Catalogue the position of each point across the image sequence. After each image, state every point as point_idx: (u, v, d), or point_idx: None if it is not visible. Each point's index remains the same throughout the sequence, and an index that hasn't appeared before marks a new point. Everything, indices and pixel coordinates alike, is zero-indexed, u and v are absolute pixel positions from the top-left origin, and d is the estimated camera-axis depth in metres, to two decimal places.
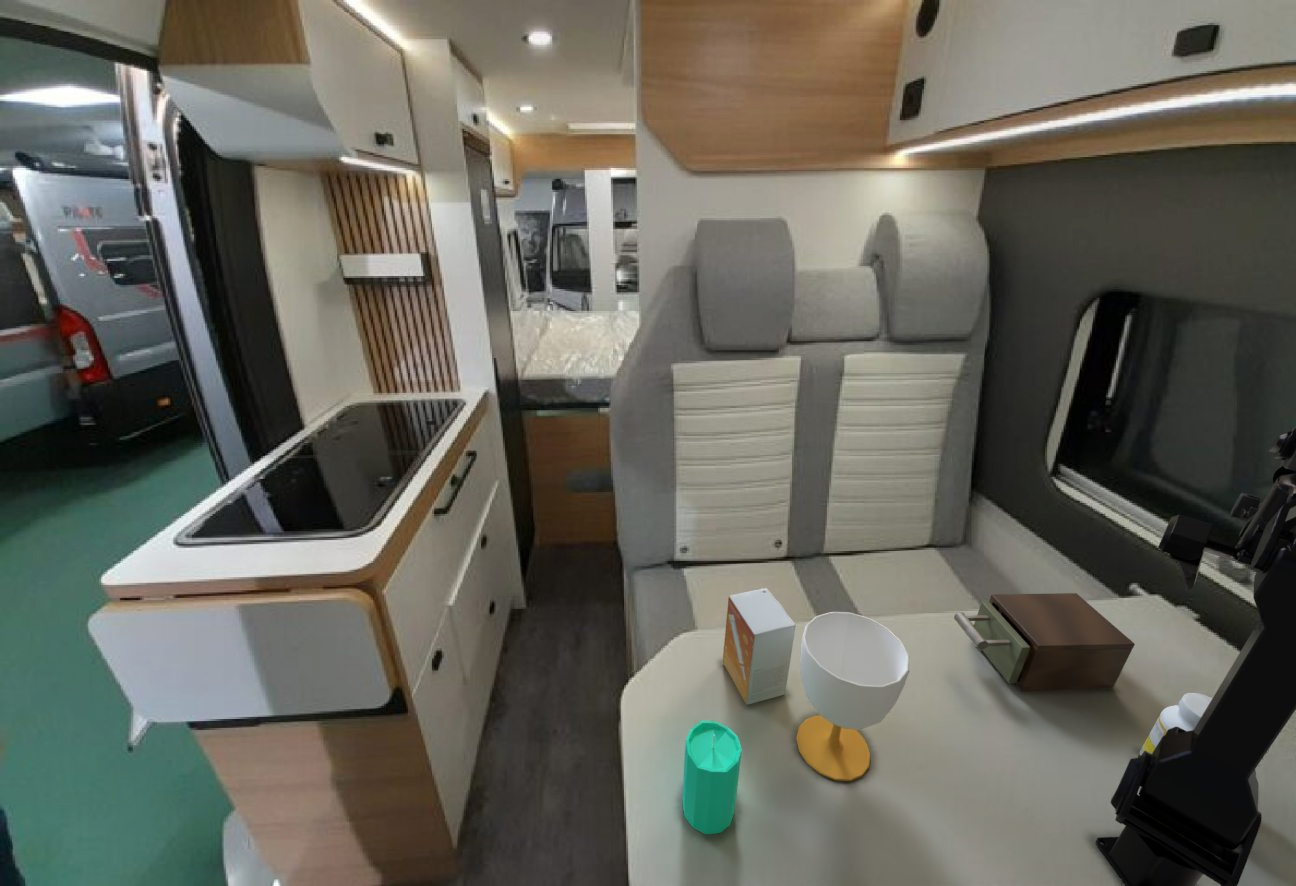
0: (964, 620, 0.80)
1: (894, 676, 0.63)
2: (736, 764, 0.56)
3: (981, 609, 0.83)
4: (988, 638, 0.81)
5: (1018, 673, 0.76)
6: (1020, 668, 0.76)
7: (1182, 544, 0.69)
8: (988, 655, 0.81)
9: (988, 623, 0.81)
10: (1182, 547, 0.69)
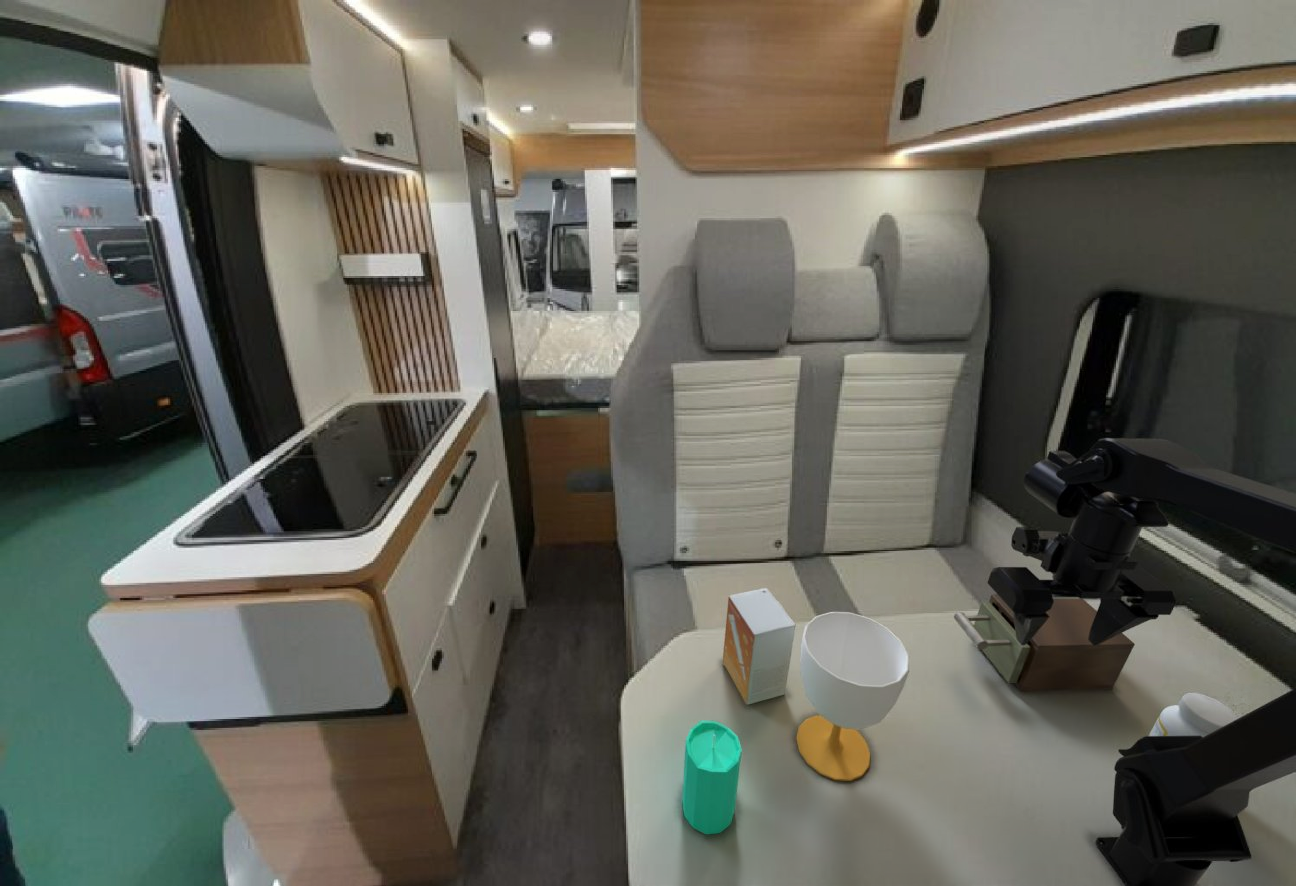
0: (964, 620, 0.80)
1: (894, 676, 0.63)
2: (736, 764, 0.56)
3: (981, 609, 0.83)
4: (988, 638, 0.81)
5: (1018, 673, 0.76)
6: (1020, 668, 0.76)
7: (1036, 599, 0.61)
8: (988, 655, 0.81)
9: (988, 623, 0.81)
10: (1037, 602, 0.61)
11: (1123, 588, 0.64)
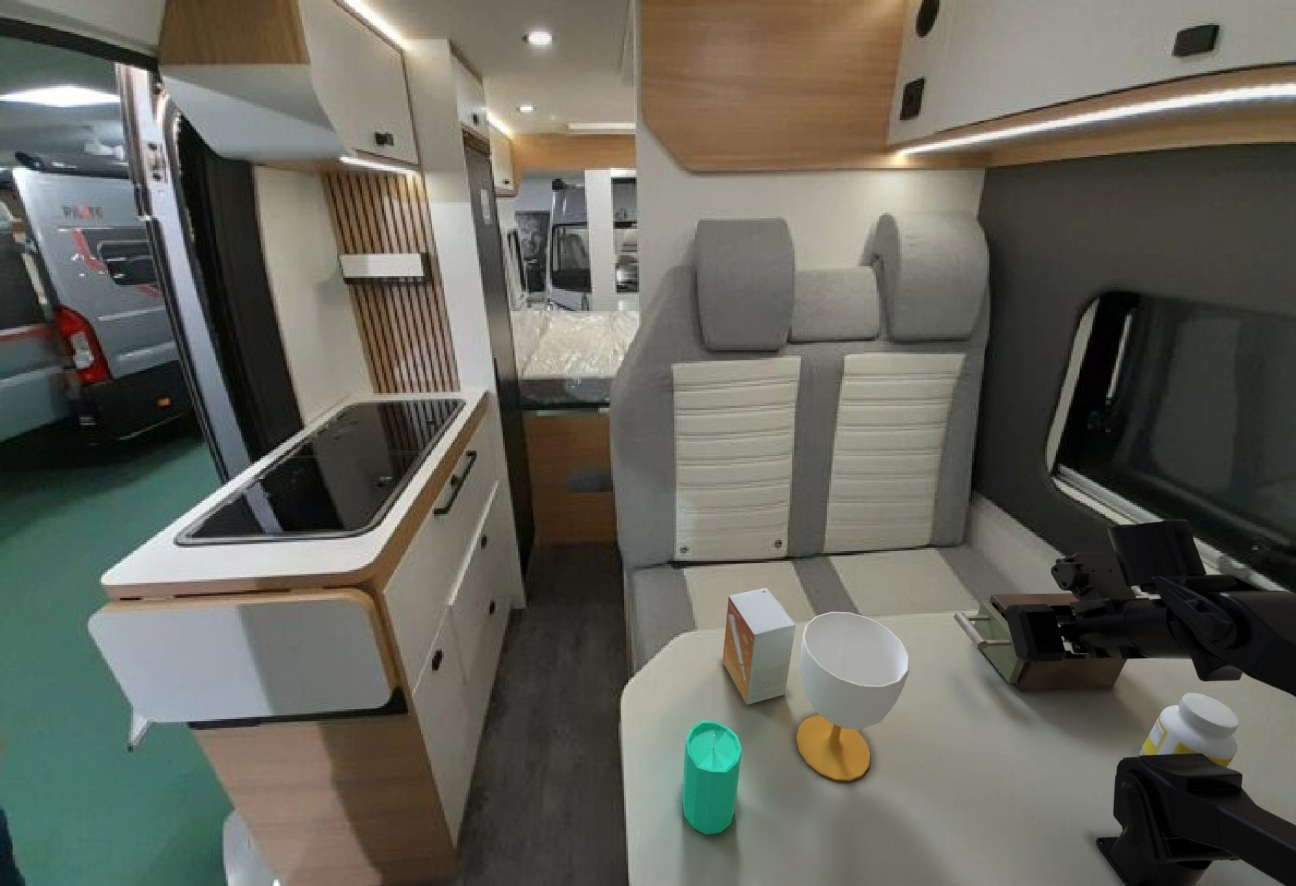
0: (964, 620, 0.80)
1: (894, 676, 0.63)
2: (736, 764, 0.56)
3: (981, 609, 0.83)
4: (988, 638, 0.81)
5: (1018, 673, 0.76)
6: (1020, 668, 0.76)
7: (1046, 659, 0.59)
8: (988, 655, 0.81)
9: (988, 623, 0.81)
10: None
11: None
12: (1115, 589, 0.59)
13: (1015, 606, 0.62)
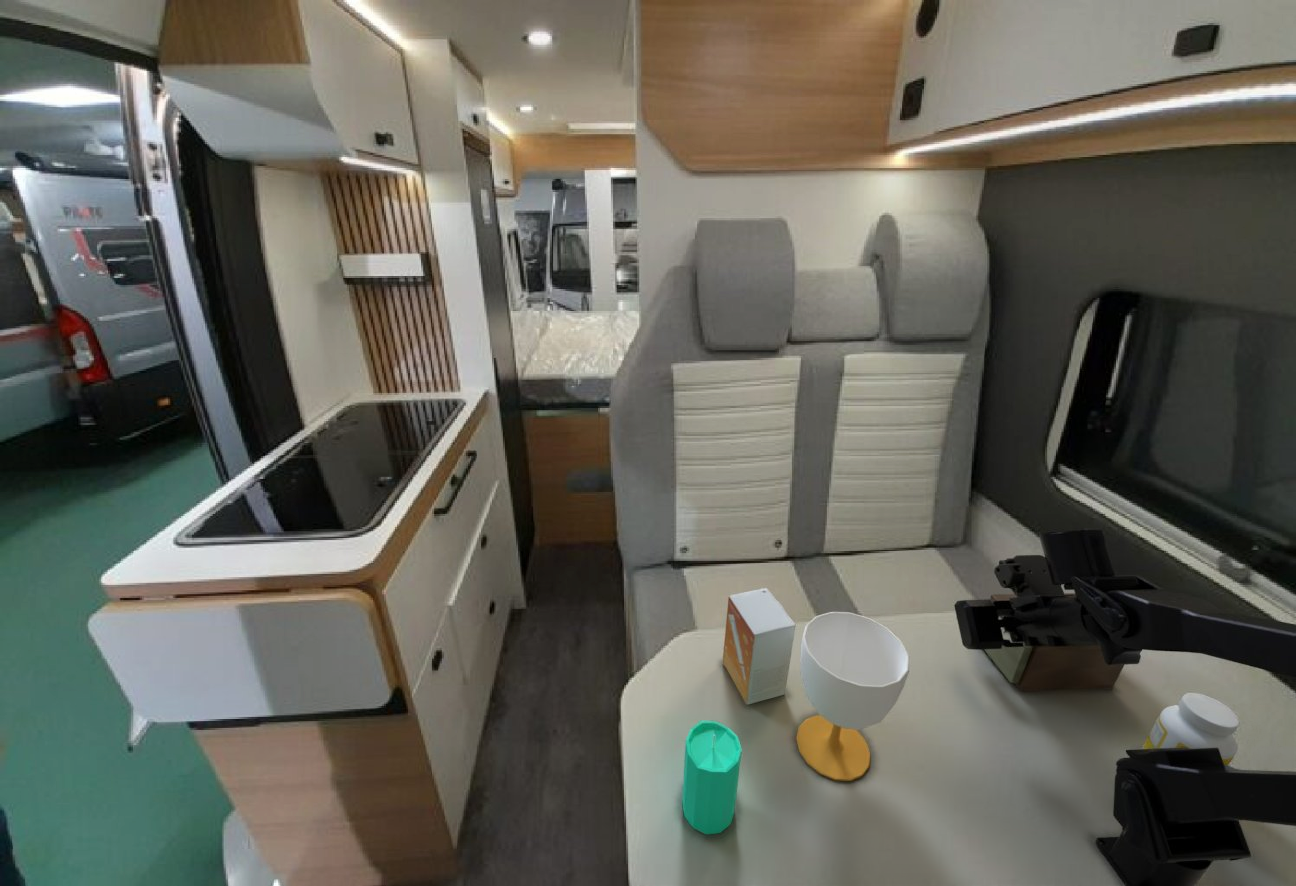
0: None
1: (894, 676, 0.63)
2: (736, 764, 0.56)
3: None
4: None
5: (1021, 673, 0.76)
6: (1023, 668, 0.76)
7: (987, 647, 0.69)
8: (990, 655, 0.81)
9: None
10: (986, 648, 0.69)
11: None
12: (1047, 587, 0.69)
13: (962, 601, 0.71)
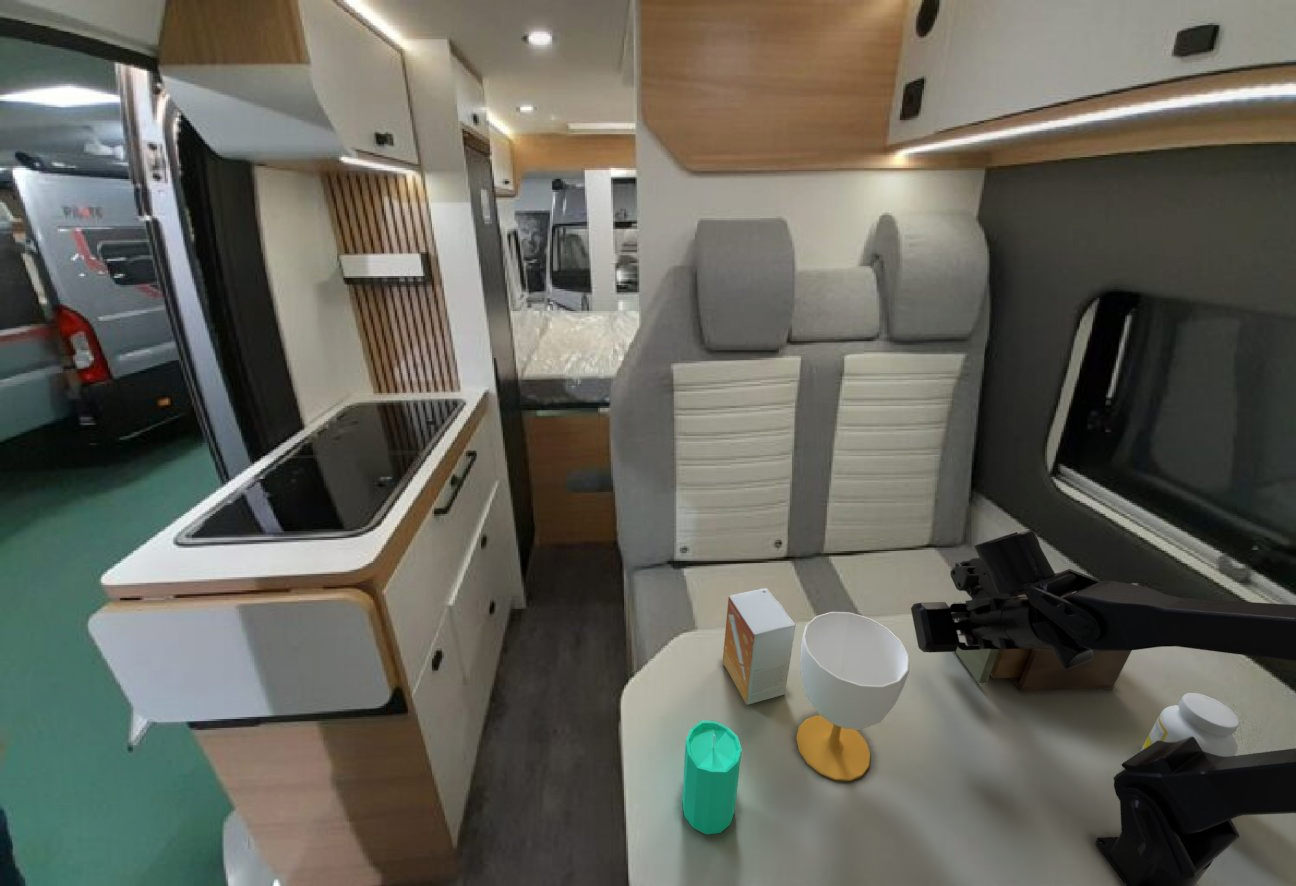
0: None
1: (894, 676, 0.63)
2: (736, 764, 0.56)
3: None
4: None
5: (988, 674, 0.76)
6: (990, 669, 0.76)
7: (941, 650, 0.69)
8: (960, 656, 0.81)
9: None
10: (941, 651, 0.69)
11: None
12: None
13: (918, 604, 0.71)
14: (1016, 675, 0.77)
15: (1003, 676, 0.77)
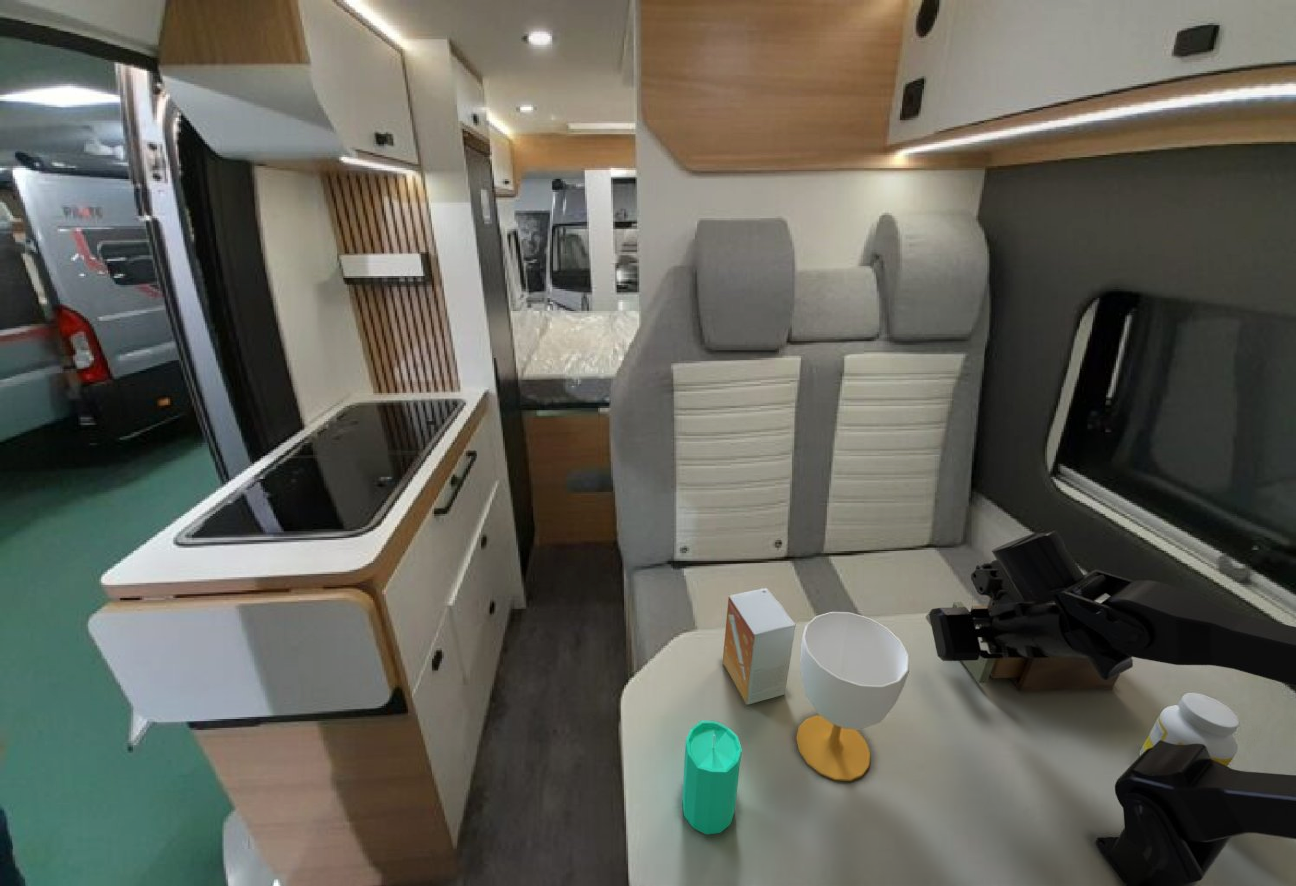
0: None
1: (894, 676, 0.63)
2: (736, 764, 0.56)
3: None
4: None
5: (988, 674, 0.76)
6: (990, 669, 0.76)
7: (962, 658, 0.65)
8: None
9: None
10: None
11: None
12: None
13: (937, 609, 0.67)
14: (1016, 675, 0.77)
15: (1003, 676, 0.77)
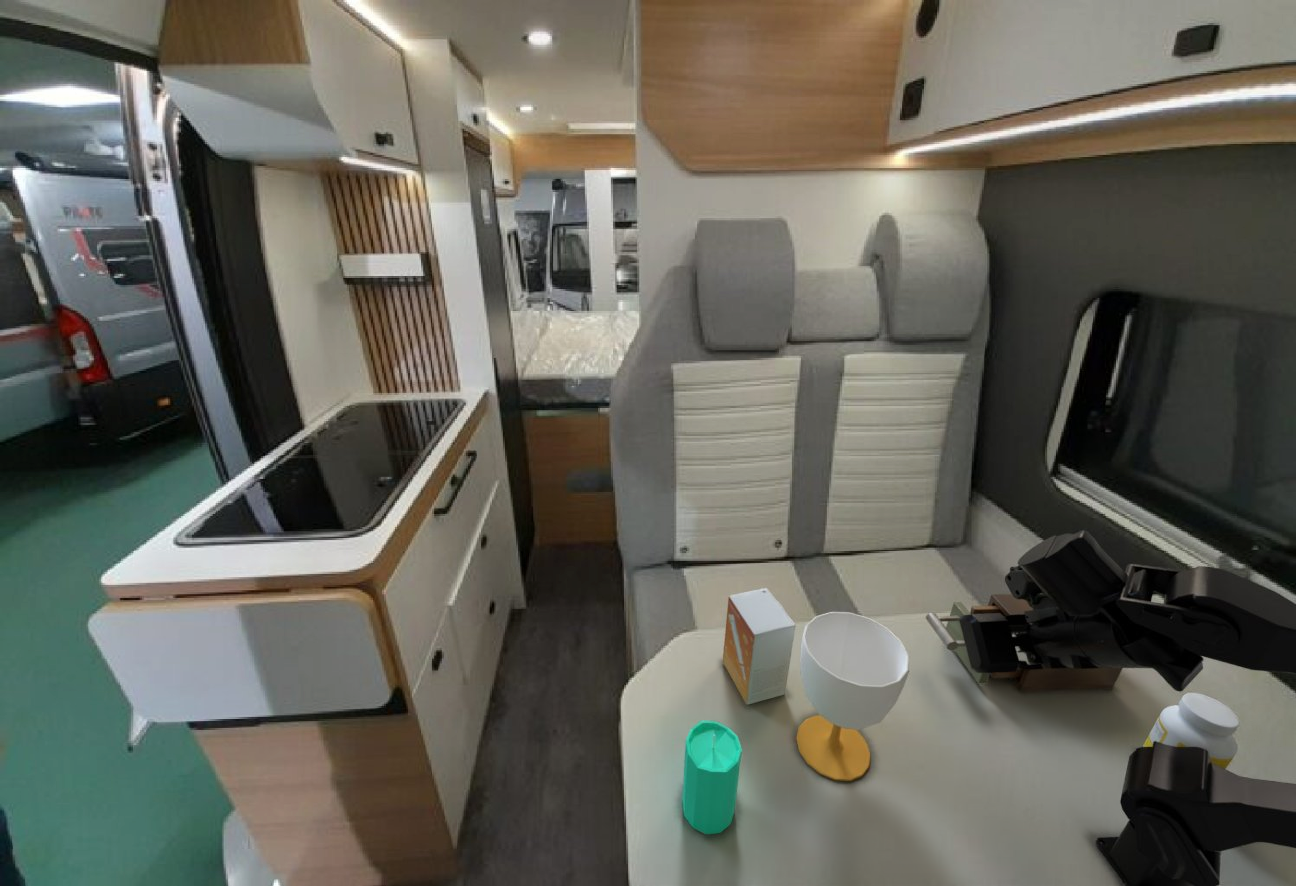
0: (935, 620, 0.79)
1: (894, 676, 0.63)
2: (736, 764, 0.56)
3: (953, 609, 0.82)
4: (960, 638, 0.81)
5: (988, 674, 0.76)
6: None
7: (999, 670, 0.58)
8: (960, 656, 0.81)
9: None
10: None
11: None
12: None
13: (969, 616, 0.61)
14: (1016, 675, 0.77)
15: (1003, 676, 0.77)
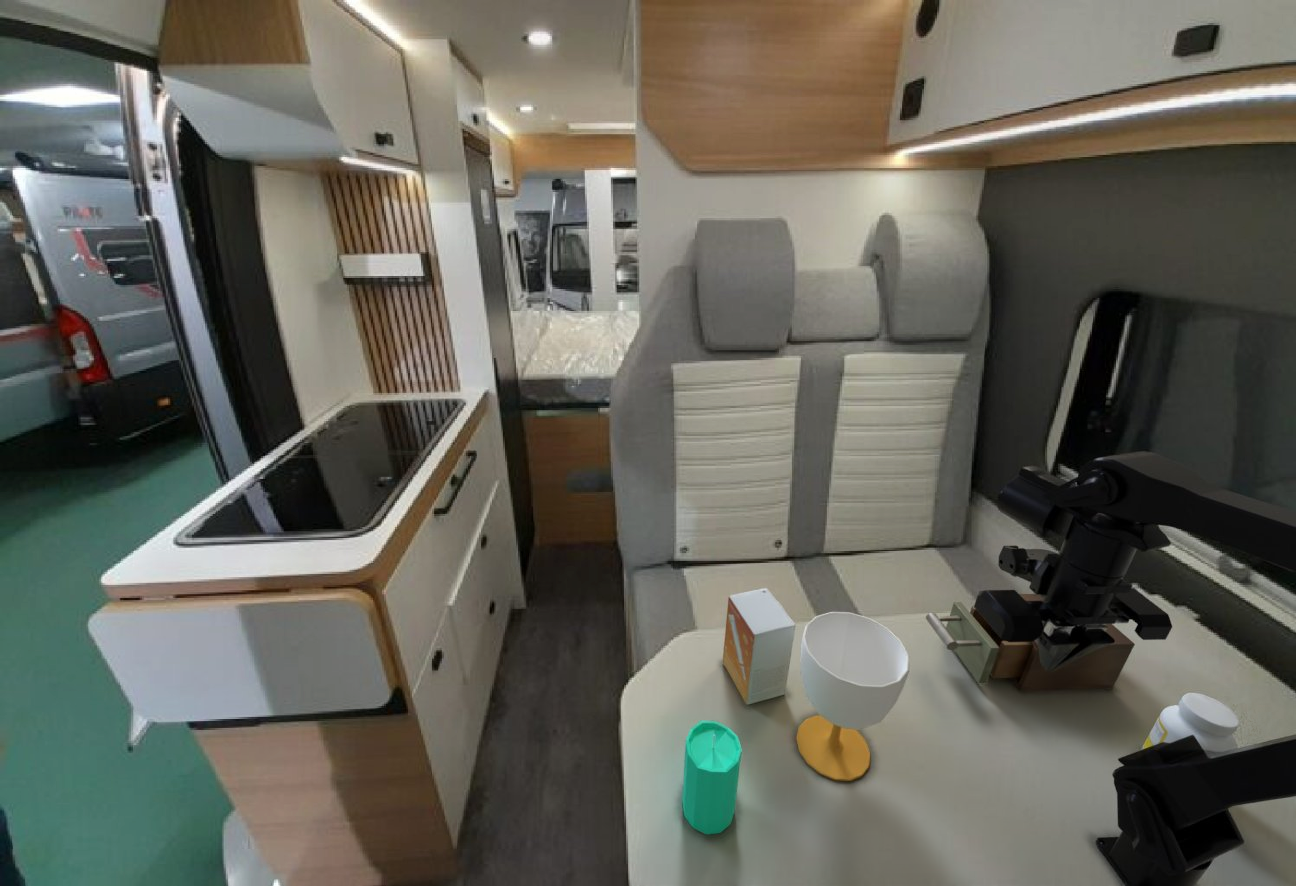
0: (935, 620, 0.79)
1: (894, 676, 0.63)
2: (736, 764, 0.56)
3: (953, 609, 0.82)
4: (960, 638, 0.81)
5: (988, 674, 0.76)
6: (990, 669, 0.76)
7: (1025, 626, 0.57)
8: (960, 656, 0.81)
9: (960, 623, 0.81)
10: (1027, 630, 0.57)
11: (1116, 611, 0.60)
12: None
13: (978, 594, 0.63)
14: (1016, 675, 0.77)
15: (1003, 676, 0.77)
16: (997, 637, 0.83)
